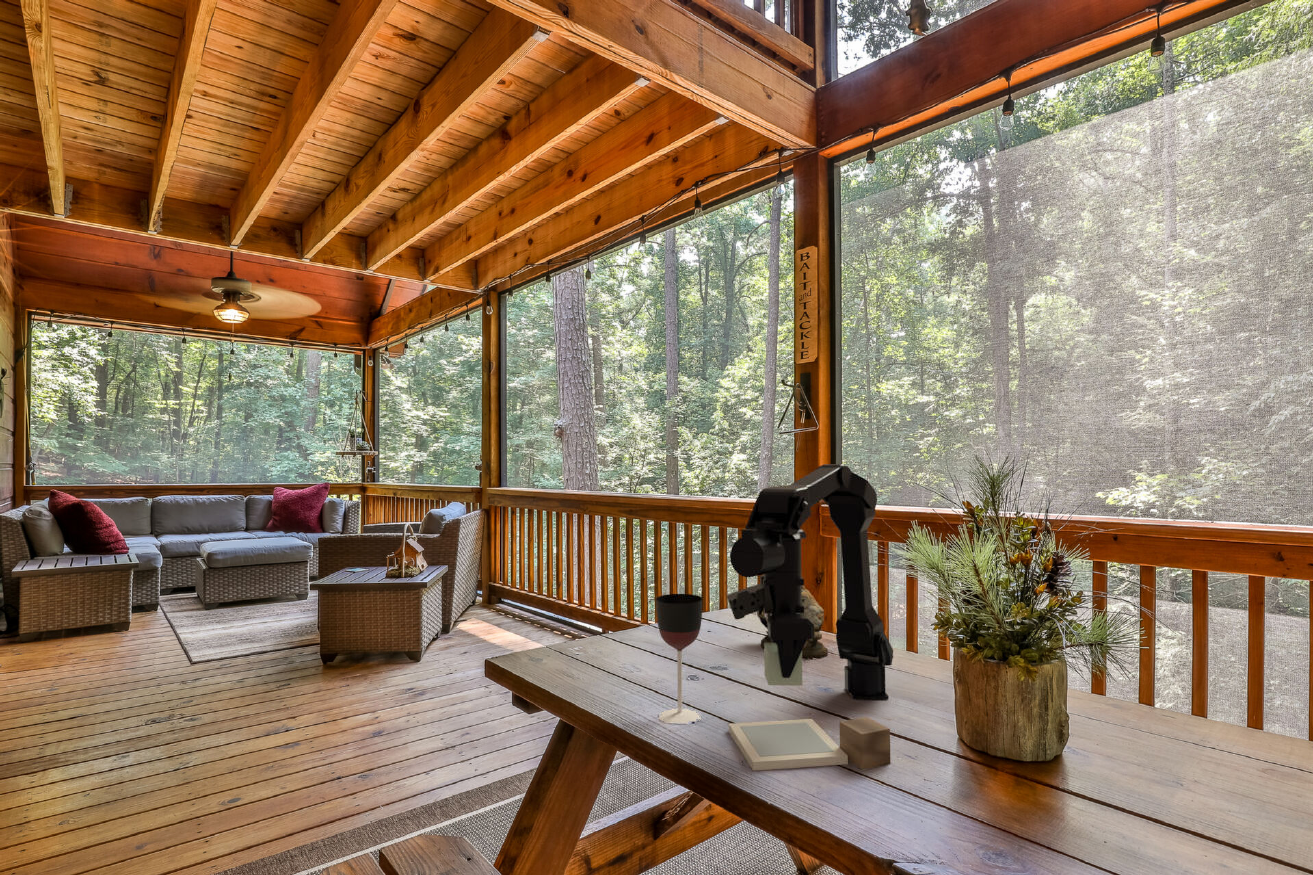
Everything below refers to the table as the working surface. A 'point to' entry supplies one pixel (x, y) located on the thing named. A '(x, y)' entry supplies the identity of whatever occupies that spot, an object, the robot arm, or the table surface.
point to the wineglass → (679, 639)
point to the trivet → (786, 744)
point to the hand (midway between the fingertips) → (783, 672)
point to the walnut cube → (865, 742)
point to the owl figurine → (816, 617)
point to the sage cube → (774, 669)
